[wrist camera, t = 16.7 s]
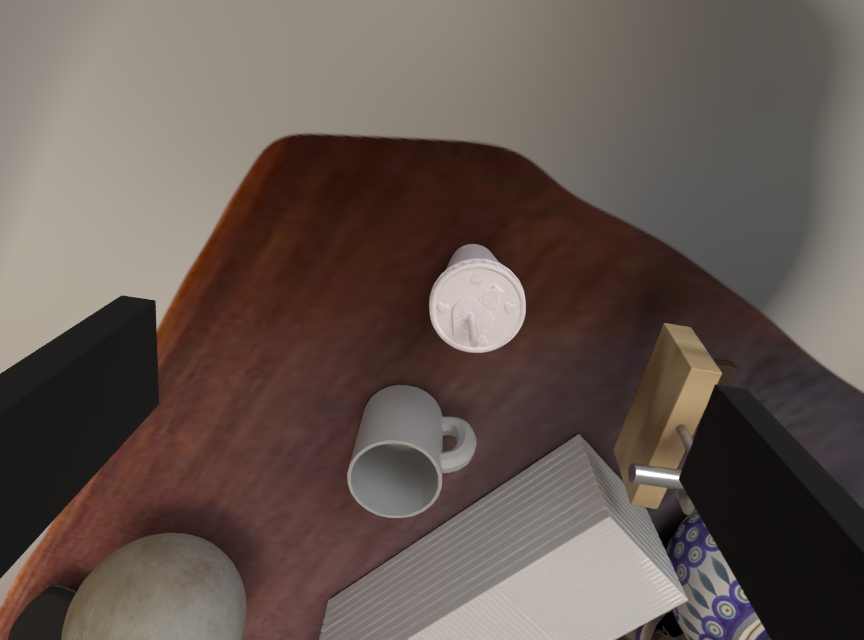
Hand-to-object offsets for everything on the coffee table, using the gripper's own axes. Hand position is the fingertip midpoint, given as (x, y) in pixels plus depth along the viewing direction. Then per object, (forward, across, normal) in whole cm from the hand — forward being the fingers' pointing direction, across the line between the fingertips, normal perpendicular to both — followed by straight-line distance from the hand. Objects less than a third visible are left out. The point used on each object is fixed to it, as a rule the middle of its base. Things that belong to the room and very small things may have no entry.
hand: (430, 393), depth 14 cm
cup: (+33, +1, -21) cm, 39 cm away
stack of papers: (+33, +9, -36) cm, 49 cm away
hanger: (+27, +18, -13) cm, 35 cm away
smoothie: (+33, +3, -6) cm, 34 cm away
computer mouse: (+29, -33, -51) cm, 67 cm away
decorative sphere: (+33, -19, -42) cm, 56 cm away
